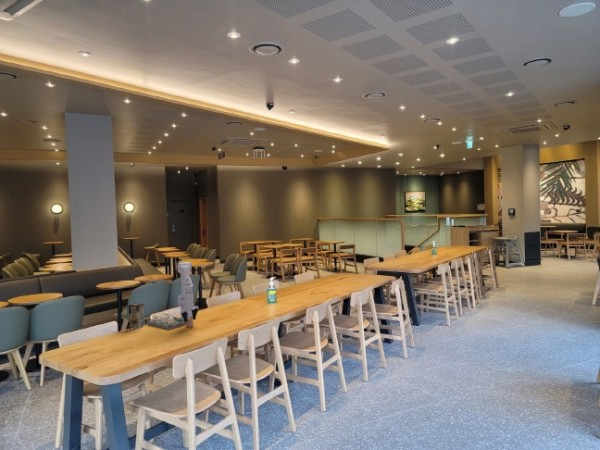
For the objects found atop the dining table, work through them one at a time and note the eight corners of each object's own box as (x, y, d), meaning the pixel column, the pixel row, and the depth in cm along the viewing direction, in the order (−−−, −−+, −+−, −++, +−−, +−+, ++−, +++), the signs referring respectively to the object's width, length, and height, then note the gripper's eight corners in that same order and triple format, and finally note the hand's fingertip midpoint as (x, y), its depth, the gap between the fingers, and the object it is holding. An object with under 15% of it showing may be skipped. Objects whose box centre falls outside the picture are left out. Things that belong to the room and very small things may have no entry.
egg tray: (167, 318, 319) (167, 309, 319) (190, 323, 305) (189, 314, 304) (147, 324, 305) (146, 315, 304) (169, 329, 290) (169, 319, 290)
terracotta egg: (190, 325, 300) (190, 317, 300) (194, 325, 298) (194, 317, 297) (185, 326, 296) (185, 318, 296) (189, 327, 294) (189, 319, 294)
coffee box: (128, 327, 298) (127, 304, 298) (134, 324, 305) (134, 302, 304) (139, 327, 296) (138, 305, 295) (145, 325, 302) (144, 303, 301)
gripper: (184, 304, 288) (185, 323, 289) (200, 300, 300) (201, 319, 300) (178, 303, 292) (179, 322, 293) (194, 299, 304) (195, 317, 304)
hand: (190, 320), depth 297 cm, fingers open, 7 cm apart
